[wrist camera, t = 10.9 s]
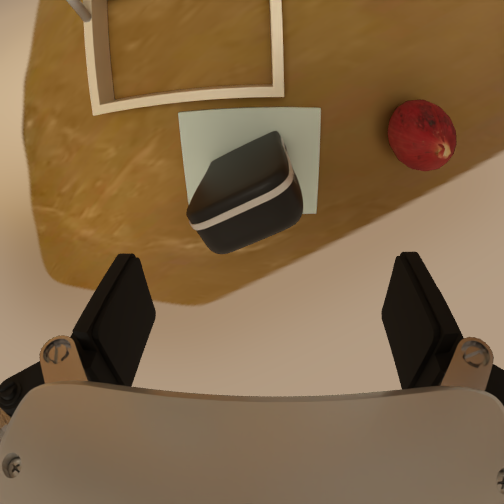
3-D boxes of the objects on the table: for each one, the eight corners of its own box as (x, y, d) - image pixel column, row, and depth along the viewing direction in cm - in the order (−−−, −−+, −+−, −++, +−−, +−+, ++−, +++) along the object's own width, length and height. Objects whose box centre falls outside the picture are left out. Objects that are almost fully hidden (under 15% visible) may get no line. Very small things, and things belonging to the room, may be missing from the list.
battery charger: (228, 196, 29) (210, 272, 20) (207, 161, 28) (175, 223, 18) (298, 164, 28) (316, 228, 18) (279, 127, 26) (288, 170, 16)
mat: (319, 107, 25) (320, 108, 25) (315, 211, 30) (316, 213, 30) (179, 111, 26) (178, 112, 25) (191, 213, 31) (190, 215, 31)
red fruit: (370, 99, 24) (406, 115, 17) (426, 91, 23) (475, 106, 16) (381, 160, 27) (415, 195, 20) (434, 149, 26) (478, 181, 19)
